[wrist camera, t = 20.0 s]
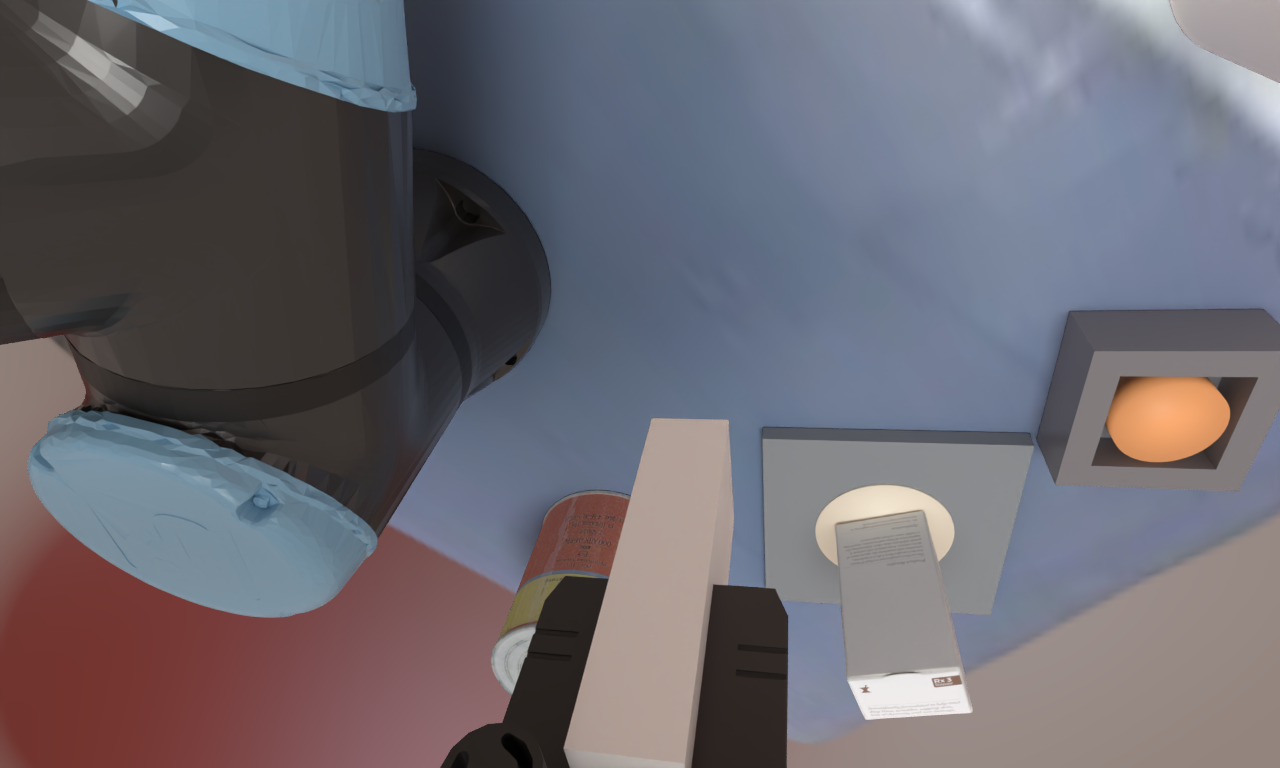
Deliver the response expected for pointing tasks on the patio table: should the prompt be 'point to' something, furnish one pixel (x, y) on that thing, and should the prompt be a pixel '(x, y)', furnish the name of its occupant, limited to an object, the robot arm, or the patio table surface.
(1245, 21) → the cup
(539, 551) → the canned food
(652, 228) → the patio table surface
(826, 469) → the slate board
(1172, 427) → the button
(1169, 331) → the button box
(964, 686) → the skincare box
